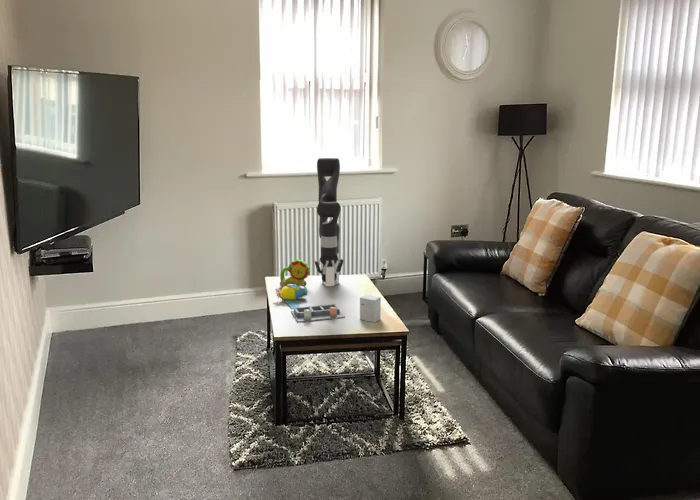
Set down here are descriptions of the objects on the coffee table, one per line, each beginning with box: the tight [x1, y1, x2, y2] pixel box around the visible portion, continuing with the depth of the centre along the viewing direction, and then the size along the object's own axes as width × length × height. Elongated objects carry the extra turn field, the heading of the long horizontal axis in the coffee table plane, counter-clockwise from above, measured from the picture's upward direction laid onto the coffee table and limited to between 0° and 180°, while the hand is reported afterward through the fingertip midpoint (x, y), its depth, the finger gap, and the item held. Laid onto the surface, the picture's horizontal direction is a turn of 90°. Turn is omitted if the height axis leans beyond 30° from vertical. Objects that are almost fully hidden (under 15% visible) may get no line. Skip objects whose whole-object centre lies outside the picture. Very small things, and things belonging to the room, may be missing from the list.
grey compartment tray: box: [290, 303, 346, 324], centre depth 288 cm, size 14×22×5 cm, turn 107°
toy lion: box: [279, 258, 311, 288], centre depth 329 cm, size 16×5×15 cm, turn 76°
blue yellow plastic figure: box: [275, 284, 308, 310], centre depth 310 cm, size 28×9×15 cm
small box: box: [359, 294, 382, 323], centre depth 283 cm, size 8×6×10 cm
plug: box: [323, 266, 335, 287], centre depth 288 cm, size 4×4×9 cm
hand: (329, 281), depth 289 cm, fingers closed on plug, 4 cm apart
